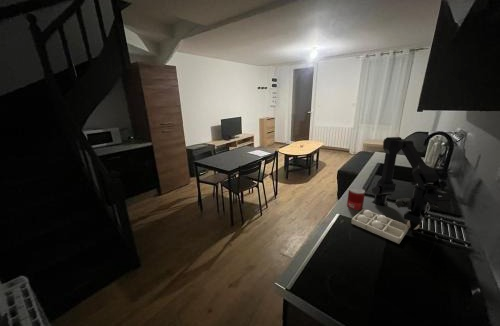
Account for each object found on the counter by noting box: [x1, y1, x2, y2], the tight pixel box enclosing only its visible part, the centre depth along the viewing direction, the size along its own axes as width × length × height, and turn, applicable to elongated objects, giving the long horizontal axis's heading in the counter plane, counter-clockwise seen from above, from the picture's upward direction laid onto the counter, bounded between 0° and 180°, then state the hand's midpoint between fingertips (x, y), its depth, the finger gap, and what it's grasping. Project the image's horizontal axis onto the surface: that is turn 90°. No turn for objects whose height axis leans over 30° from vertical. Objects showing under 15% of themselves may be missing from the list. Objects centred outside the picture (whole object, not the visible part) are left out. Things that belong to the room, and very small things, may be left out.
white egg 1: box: [357, 215, 368, 224], centre depth 101 cm, size 5×5×5 cm
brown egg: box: [406, 220, 420, 231], centre depth 97 cm, size 5×5×5 cm
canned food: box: [346, 186, 366, 211], centre depth 115 cm, size 8×8×11 cm
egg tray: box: [351, 208, 410, 245], centre depth 99 cm, size 14×20×3 cm
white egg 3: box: [371, 220, 383, 230], centre depth 96 cm, size 5×5×5 cm
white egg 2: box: [363, 209, 374, 218], centre depth 105 cm, size 5×5×5 cm
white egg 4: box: [377, 214, 388, 224], centre depth 100 cm, size 5×5×5 cm
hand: (413, 227), depth 97 cm, fingers closed on brown egg, 5 cm apart
